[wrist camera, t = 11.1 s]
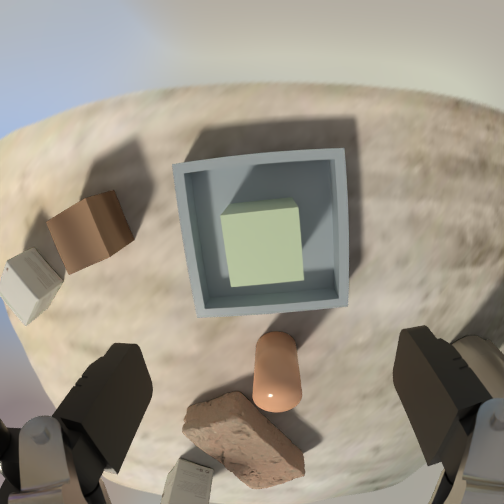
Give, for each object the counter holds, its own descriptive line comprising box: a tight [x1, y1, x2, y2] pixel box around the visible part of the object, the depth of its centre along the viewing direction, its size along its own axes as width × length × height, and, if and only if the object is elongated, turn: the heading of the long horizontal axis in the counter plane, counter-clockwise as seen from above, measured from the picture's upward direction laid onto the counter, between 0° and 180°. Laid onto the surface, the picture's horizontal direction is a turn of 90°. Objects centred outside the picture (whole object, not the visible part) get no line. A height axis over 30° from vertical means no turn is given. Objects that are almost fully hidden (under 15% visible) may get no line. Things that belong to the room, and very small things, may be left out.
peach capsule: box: [253, 331, 302, 412], centre depth 26 cm, size 4×4×7 cm
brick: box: [182, 391, 305, 489], centre depth 32 cm, size 17×8×5 cm, turn 33°
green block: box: [220, 197, 304, 287], centre depth 22 cm, size 5×5×5 cm
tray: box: [172, 148, 349, 318], centre depth 24 cm, size 13×13×3 cm
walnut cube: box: [46, 190, 134, 275], centre depth 24 cm, size 5×5×5 cm
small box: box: [0, 247, 63, 326], centre depth 26 cm, size 6×6×5 cm
